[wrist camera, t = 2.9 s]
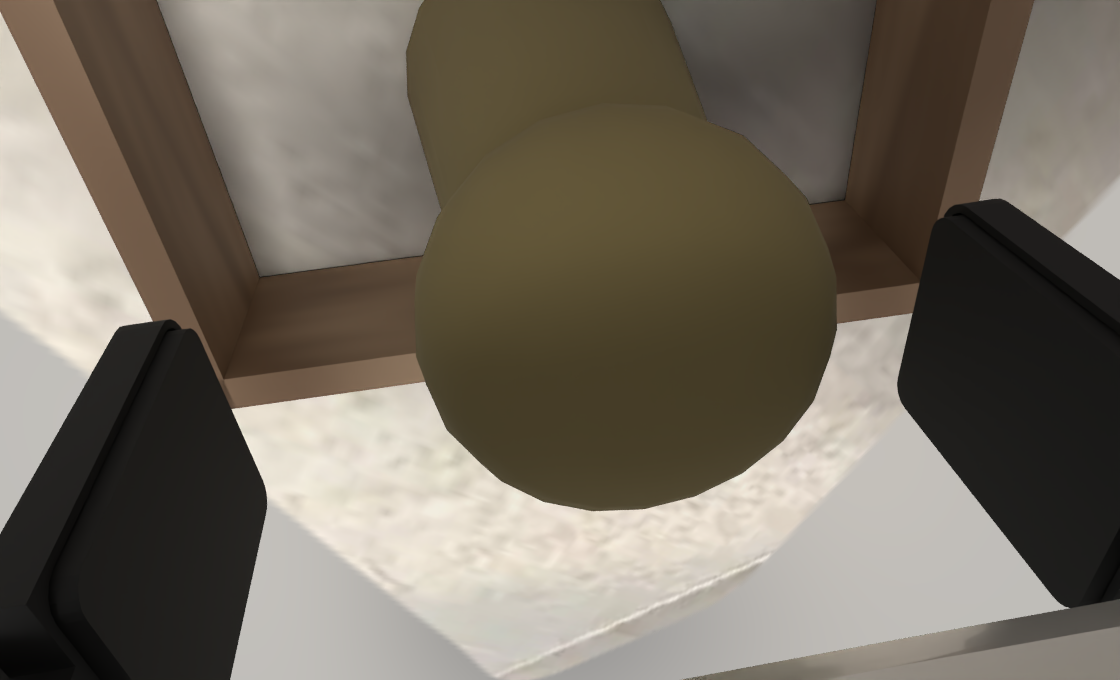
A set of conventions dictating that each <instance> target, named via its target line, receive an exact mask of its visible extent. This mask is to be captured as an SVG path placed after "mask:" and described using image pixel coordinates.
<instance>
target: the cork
mask: <svg viewBox="0 0 1120 680" xmlns="http://www.w3.org/2000/svg"><path fill="white" fill-rule="evenodd" d="M406 62H407V95H408V99H409V103H410V106H411V109H412V113H413V116H414V120H415V123H416V126H417V130H418V133H419V136H420V140H421V143H422V147H423V150H424V153H425V157H426V160H427V164H428V167H429V170H430V174H431V177H432V181H433V184H434V187H435V191H436V194H437V198H438V201H439V204H440V208H441V212H440V214H439V216H438V217H437V219H436V222H435V225H434V227H433V230H432V233H431V236H430V238H429V241H428V244H427V247H426V250H425V252H424V255H423V258H422V261H421V264H420V266H419V269H418V272H417V275H416V287H415V300H414V305H415V337H416V358H417V361H418V363H419V366H420V369H421V371H422V374H423V377H424V379H425V382H426V385H427V387H428V389H429V391H430V394H431V396H432V398H433V400H434V402H435V405H436V407H437V409H438V411H439V413H440V416H441V418H442V420H443V422H444V425H445V427H446V429H447V431H448V432H449V433H450V434H452V435H453V436H454V437H455V438H456V439H457V440H458V441H459V442H460V443H461V444H462V445H463V446H464V447H465V448H466V449H467V450H468V451H469V452H470V453H471V454H472V455H473V456H474V457H475V458H476V459H477V460H478V461H479V462H480V463H481V464H482V465H483V466H484V467H485V468H487V469H488V470H489V471H490V472H491V473H492V474H494V475H495V476H496V477H497V478H498V479H499V480H501V481H502V482H504V483H506V484H508V485H510V486H512V487H514V488H516V489H518V490H520V491H523V492H525V493H527V494H529V495H531V496H533V497H535V498H537V499H539V500H541V501H543V502H547V503H552V504H558V505H563V506H568V507H573V508H579V509H584V510H589V511H609V510H635V509H646V508H650V507H654V506H658V505H662V504H666V503H670V502H674V501H678V500H682V499H686V498H690V497H694V496H697V495H699V494H701V493H703V492H705V491H707V490H709V489H711V488H713V487H715V486H717V485H719V484H721V483H723V482H725V481H727V480H729V479H731V478H734V477H736V476H738V475H740V474H742V473H743V472H745V471H746V470H747V469H748V468H750V467H751V466H752V465H753V464H755V463H756V462H757V461H758V460H760V459H761V458H762V457H763V456H765V455H766V454H767V453H769V452H770V451H771V450H772V449H774V448H775V447H776V446H777V445H779V444H780V443H781V442H782V441H783V440H784V439H785V438H786V437H787V435H788V434H789V433H790V431H791V430H792V429H793V427H794V426H795V425H796V423H797V422H798V421H799V420H800V418H801V417H802V416H803V414H804V413H805V412H806V410H807V409H808V408H809V406H810V405H811V404H812V403H813V401H814V399H815V396H816V393H817V390H818V388H819V385H820V382H821V380H822V377H823V374H824V371H825V369H826V366H827V363H828V361H829V358H830V355H831V351H832V347H833V343H834V339H835V335H836V331H837V284H836V273H835V270H834V266H833V263H832V259H831V256H830V252H829V249H828V247H827V244H826V242H825V240H824V237H823V235H822V233H821V231H820V228H819V226H818V224H817V222H816V219H815V217H814V215H813V212H812V210H811V208H810V206H809V203H808V201H807V199H806V197H805V196H804V195H803V194H802V192H801V191H800V190H799V189H798V188H797V187H796V186H795V185H794V184H793V182H792V181H791V180H790V179H789V178H788V177H787V176H786V175H785V174H784V173H783V172H782V171H781V170H780V169H779V168H778V167H776V166H775V165H774V164H773V163H772V162H771V161H770V160H769V159H768V158H767V157H766V156H765V155H764V154H762V153H761V152H760V151H759V150H758V149H757V148H756V147H755V146H754V145H753V144H752V143H751V142H750V141H749V140H747V139H746V138H745V137H744V136H743V135H740V134H738V133H735V132H733V131H730V130H728V129H725V128H723V127H720V126H718V125H715V124H713V123H710V122H708V121H707V119H706V116H705V113H704V111H703V108H702V105H701V103H700V100H699V97H698V94H697V92H696V89H695V86H694V84H693V81H692V78H691V75H690V73H689V70H688V67H687V65H686V62H685V59H684V57H683V54H682V51H681V48H680V46H679V43H678V40H677V38H676V35H675V32H674V30H673V27H672V24H671V22H670V20H669V18H668V16H667V14H666V12H665V9H664V7H663V5H662V3H661V1H660V0H424V2H423V3H422V5H421V6H420V8H419V10H418V14H417V17H416V20H415V24H414V27H413V31H412V34H411V37H410V41H409V44H408V47H407V51H406Z"/></svg>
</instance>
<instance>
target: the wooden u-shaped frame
mask: <svg viewBox="0 0 1120 680" xmlns="http://www.w3.org/2000/svg"><path fill="white" fill-rule="evenodd" d="M1033 3H1034V0H877V3H876V10H875V16H874V22H873V28H872V35H871V41H870V47H869V53H868V60H867V66H866V72H865V78H864V84H863V91H862V97H861V103H860V109H859V116H858V122H857V128H856V134H855V141H854V147H853V153H852V159H851V166H850V172H849V178H848V184H847V191H846V197H845V200H842V201H835V202H827V203H820V204H812V205H809V206H810V208H811V210H812V212H813V215H814V217H815V219H816V222H817V224H818V226H819V228H820V231H821V233H822V235H823V237H824V240H825V242H826V244H827V247H828V249H829V252H830V256H831V259H832V263H833V266H834V270H835V273H836V284H837V324H838V323H845V322H852V321H859V320H866V319H873V318H881V317H888V316H895V315H902V314H909V313H913V310H914V305H915V301H916V296H917V292H918V288H919V283H920V279H921V274H922V270H923V266H924V261H925V257H926V252H927V248H928V244H929V239H930V235H931V231H932V228H933V225H934V224H935V222H936V221H937V220H938V219H940V218H943V217H944V214H945V213H946V212H947V210H948V209H949V208H950V207H952V206H953V205H956V204H963V203H970V202H977V201H979V198H980V195H981V191H982V188H983V184H984V180H985V177H986V173H987V169H988V166H989V162H990V159H991V155H992V151H993V148H994V144H995V141H996V137H997V133H998V130H999V126H1000V122H1001V119H1002V115H1003V112H1004V108H1005V104H1006V101H1007V97H1008V94H1009V90H1010V86H1011V83H1012V79H1013V75H1014V72H1015V68H1016V65H1017V61H1018V57H1019V54H1020V50H1021V47H1022V43H1023V39H1024V36H1025V32H1026V28H1027V25H1028V21H1029V18H1030V14H1031V10H1032V7H1033ZM0 12H1V14H2V16H3V18H4V20H5V22H6V24H7V26H8V28H9V30H10V32H11V34H12V36H13V38H14V40H15V42H16V44H17V46H18V48H19V50H20V52H21V54H22V56H23V58H24V60H25V63H26V65H27V67H28V69H29V71H30V73H31V75H32V77H33V79H34V81H35V83H36V85H37V87H38V89H39V91H40V93H41V95H42V97H43V99H44V101H45V103H46V105H47V107H48V109H49V111H50V113H51V115H52V117H53V119H54V121H55V123H56V125H57V127H58V129H59V132H60V134H61V136H62V138H63V140H64V142H65V144H66V146H67V148H68V150H69V152H70V154H71V156H72V158H73V160H74V162H75V164H76V166H77V168H78V170H79V172H80V174H81V176H82V178H83V180H84V182H85V184H86V186H87V188H88V190H89V192H90V194H91V196H92V198H93V201H94V203H95V205H96V207H97V209H98V211H99V213H100V215H101V217H102V219H103V221H104V223H105V225H106V227H107V229H108V231H109V233H110V235H111V237H112V239H113V241H114V243H115V245H116V247H117V249H118V251H119V253H120V255H121V257H122V259H123V261H124V263H125V265H126V267H127V270H128V272H129V274H130V276H131V278H132V280H133V282H134V284H135V286H136V288H137V290H138V292H139V294H140V296H141V298H142V300H143V302H144V304H145V306H146V308H147V310H148V312H149V314H150V316H151V318H152V320H153V322H154V321H161V320H167V319H172V320H174V321H176V322H177V323H178V324H179V325H180V327H181V328H182V329H188V328H191V329H193V330H194V331H195V332H196V333H197V334H198V336H199V338H200V340H201V342H202V344H203V346H204V349H205V351H206V353H207V355H208V358H209V360H210V362H211V364H212V367H213V369H214V371H215V373H216V376H217V378H218V380H219V383H220V385H221V387H222V389H223V392H224V394H225V396H226V398H227V401H228V403H229V405H230V407H231V409H235V408H242V407H249V406H256V405H263V404H270V403H277V402H284V401H291V400H298V399H306V398H313V397H320V396H327V395H334V394H341V393H348V392H355V391H362V390H369V389H376V388H384V387H391V386H398V385H405V384H412V383H419V382H425V379H424V377H423V374H422V371H421V369H420V366H419V363H418V361H417V358H416V337H415V305H414V300H415V287H416V275H417V272H418V269H419V266H420V264H421V261H422V258H423V256H419V257H412V258H404V259H397V260H389V261H381V262H374V263H366V264H359V265H351V266H344V267H336V268H329V269H321V270H313V271H306V272H298V273H291V274H283V275H276V276H268V277H261V278H260V277H259V275H258V272H257V269H256V267H255V264H254V261H253V259H252V256H251V253H250V251H249V248H248V245H247V243H246V240H245V237H244V235H243V232H242V229H241V226H240V224H239V221H238V218H237V216H236V213H235V210H234V208H233V205H232V202H231V200H230V197H229V194H228V192H227V189H226V186H225V184H224V181H223V178H222V176H221V173H220V170H219V168H218V165H217V162H216V160H215V157H214V154H213V152H212V149H211V146H210V143H209V141H208V138H207V135H206V133H205V130H204V127H203V125H202V122H201V119H200V117H199V114H198V111H197V109H196V106H195V103H194V101H193V98H192V95H191V93H190V90H189V87H188V85H187V82H186V79H185V77H184V74H183V71H182V68H181V66H180V63H179V60H178V58H177V55H176V52H175V50H174V47H173V44H172V42H171V39H170V36H169V34H168V31H167V28H166V26H165V23H164V20H163V18H162V15H161V12H160V10H159V7H158V4H157V2H156V0H0Z"/></svg>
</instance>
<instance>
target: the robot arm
mask: <svg viewBox="0 0 1120 680" xmlns="http://www.w3.org/2000/svg"><path fill="white" fill-rule="evenodd" d="M897 387H898V394H899V398H900V400H901V403H902V404H903V406H904V407H905V409H906V410H907V411H908V413H909V414H910V415H911V416H912V418H913V419H914V420H915V422H916V423H917V424H918V425H919V427H920V428H921V429H922V430H923V432H924V433H925V434H926V436H927V437H928V438H929V439H930V440H931V442H932V443H933V444H934V446H935V447H936V448H937V450H938V451H939V452H940V453H941V455H942V456H943V457H944V458H945V460H946V461H947V462H948V464H949V465H950V466H951V467H952V469H953V470H954V471H955V472H956V474H957V475H958V476H959V477H960V478H961V480H962V481H963V483H964V484H965V485H966V486H967V488H968V489H969V490H970V492H971V493H972V494H973V495H974V496H975V498H976V499H977V500H978V502H979V503H980V504H981V506H982V507H983V508H984V509H985V510H986V512H987V513H988V514H989V516H990V517H991V518H992V519H993V521H994V522H995V523H996V525H997V526H998V527H999V528H1000V530H1001V531H1002V532H1003V533H1004V535H1005V536H1006V537H1007V539H1008V540H1009V541H1010V542H1011V544H1012V545H1013V546H1014V548H1015V549H1016V550H1017V551H1018V553H1019V554H1020V555H1021V556H1022V558H1023V559H1024V560H1025V562H1026V563H1027V564H1028V565H1029V567H1030V568H1031V569H1032V570H1033V572H1034V573H1035V574H1036V576H1037V577H1038V578H1039V579H1040V580H1041V582H1042V583H1043V584H1044V586H1045V587H1046V588H1047V590H1048V591H1049V592H1050V593H1051V595H1052V596H1053V597H1054V598H1055V599H1056V600H1057V601H1058V602H1059V603H1060V604H1062V605H1064V606H1065V607H1069V608H1070V609H1064V610H1058V611H1053V612H1047V613H1042V614H1037V615H1031V616H1026V617H1020V618H1015V619H1009V620H1003V621H998V622H992V623H987V624H981V625H975V626H970V627H964V628H959V629H954V630H948V631H942V632H937V633H932V634H925V635H920V636H915V637H909V638H904V639H898V640H893V641H887V642H883V643H877V644H871V645H866V646H861V647H855V648H849V649H844V650H839V651H833V652H828V653H823V654H818V655H812V656H806V657H801V658H796V659H790V660H785V661H779V662H774V663H768V664H763V665H758V666H753V667H747V668H742V669H736V670H731V671H726V672H720V673H715V674H710V675H705V676H699V677H694V678H689V679H683V680H1120V280H1119V279H1117V278H1116V277H1115V276H1113V275H1112V274H1110V273H1109V272H1107V271H1106V270H1105V269H1103V268H1102V267H1100V266H1099V265H1097V264H1096V263H1095V262H1093V261H1092V260H1090V259H1089V258H1087V257H1086V256H1084V255H1083V254H1082V253H1080V252H1079V251H1077V250H1076V249H1074V248H1073V247H1072V246H1070V245H1069V244H1067V243H1066V242H1064V241H1063V240H1062V239H1060V238H1059V237H1057V236H1056V235H1054V234H1053V233H1052V232H1050V231H1049V230H1047V229H1046V228H1044V227H1043V226H1041V225H1040V224H1039V223H1037V222H1036V221H1034V220H1033V219H1031V218H1030V217H1029V216H1027V215H1026V214H1024V213H1023V212H1021V211H1020V210H1019V209H1017V208H1016V207H1014V206H1013V205H1011V204H1010V203H1009V202H1007V201H1005V200H1002V199H991V200H984V201H977V202H970V203H963V204H956V205H953V206H952V207H950V208H949V209H948V210H947V212H946V213H945V214H944V217H943V218H940V219H938V220H937V221H936V222H935V224H934V225H933V228H932V231H931V235H930V239H929V244H928V248H927V252H926V257H925V261H924V266H923V270H922V274H921V279H920V283H919V288H918V292H917V296H916V301H915V305H914V310H913V314H912V318H911V323H910V327H909V332H908V336H907V341H906V345H905V349H904V354H903V358H902V363H901V367H900V371H899V376H898V382H897ZM266 510H267V496H266V489H265V485H264V483H263V480H262V478H261V475H260V473H259V471H258V469H257V466H256V464H255V462H254V460H253V457H252V455H251V453H250V450H249V448H248V446H247V444H246V441H245V439H244V437H243V435H242V432H241V430H240V428H239V426H238V423H237V421H236V419H235V417H234V414H233V412H232V410H231V407H230V405H229V403H228V401H227V398H226V396H225V394H224V392H223V389H222V387H221V385H220V383H219V380H218V378H217V376H216V373H215V371H214V369H213V367H212V364H211V362H210V360H209V358H208V355H207V353H206V351H205V349H204V346H203V344H202V342H201V340H200V338H199V336H198V334H197V333H196V332H195V331H194V330H193V329H191V328H188V329H182V328H181V327H180V325H179V324H178V323H177V322H176V321H174V320H172V319H167V320H161V321H154V322H147V323H140V324H133V325H126V326H122V327H119V328H118V330H117V331H116V332H115V333H114V335H113V337H112V339H111V340H110V342H109V344H108V346H107V348H106V349H105V351H104V353H103V355H102V356H101V358H100V360H99V362H98V363H97V365H96V367H95V369H94V370H93V372H92V374H91V376H90V377H89V379H88V381H87V383H86V384H85V386H84V388H83V390H82V392H81V393H80V395H79V397H78V398H77V400H76V402H75V404H74V405H73V407H72V409H71V411H70V412H69V414H68V416H67V418H66V419H65V421H64V423H63V425H62V427H61V428H60V430H59V432H58V434H57V435H56V437H55V439H54V441H53V442H52V444H51V446H50V448H49V449H48V451H47V453H46V455H45V457H44V458H43V460H42V462H41V463H40V465H39V467H38V469H37V471H36V472H35V474H34V476H33V478H32V480H31V481H30V483H29V484H28V486H27V488H26V490H25V492H24V493H23V495H22V497H21V499H20V501H19V502H18V504H17V506H16V507H15V509H14V511H13V513H12V514H11V516H10V518H9V520H8V521H7V523H6V525H5V527H4V528H3V530H2V532H1V534H0V680H230V677H231V673H232V668H233V663H234V659H235V654H236V650H237V645H238V640H239V636H240V631H241V626H242V622H243V617H244V612H245V608H246V603H247V599H248V594H249V589H250V585H251V580H252V576H253V571H254V566H255V561H256V557H257V552H258V548H259V543H260V539H261V534H262V530H263V525H264V520H265V516H266Z"/></svg>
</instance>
